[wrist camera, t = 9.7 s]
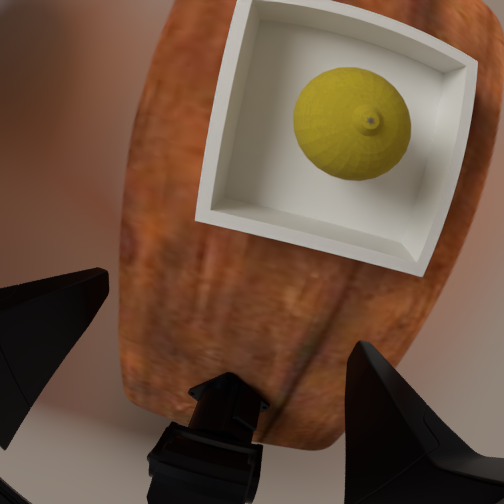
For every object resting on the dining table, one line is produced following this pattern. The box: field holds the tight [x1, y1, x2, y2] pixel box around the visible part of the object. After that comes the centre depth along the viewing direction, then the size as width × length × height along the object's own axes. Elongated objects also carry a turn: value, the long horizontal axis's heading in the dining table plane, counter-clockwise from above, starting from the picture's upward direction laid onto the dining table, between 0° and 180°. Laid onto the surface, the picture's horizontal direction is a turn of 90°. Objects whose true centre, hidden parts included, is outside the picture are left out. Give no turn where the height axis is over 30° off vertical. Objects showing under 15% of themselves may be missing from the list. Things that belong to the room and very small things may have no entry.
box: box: [195, 0, 478, 277], centre depth 15 cm, size 14×14×4 cm
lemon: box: [293, 67, 411, 181], centre depth 12 cm, size 6×6×8 cm
